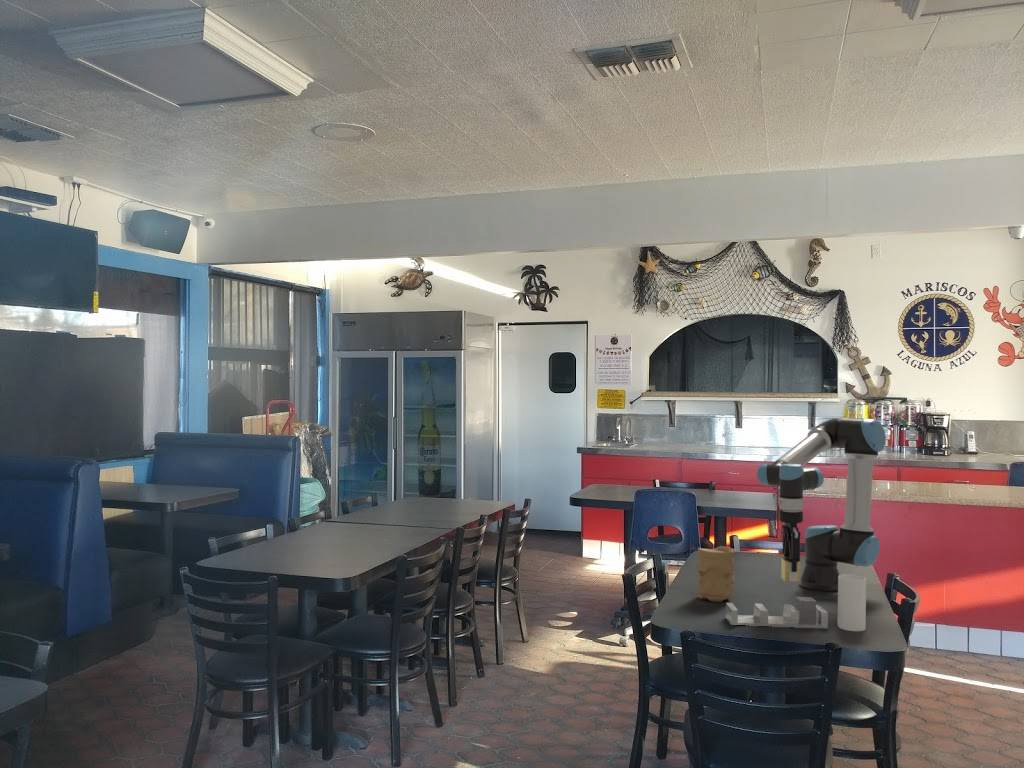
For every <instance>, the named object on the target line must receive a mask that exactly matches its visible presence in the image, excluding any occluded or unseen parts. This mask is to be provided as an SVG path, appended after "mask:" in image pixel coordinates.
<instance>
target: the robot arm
mask: <svg viewBox="0 0 1024 768" xmlns="http://www.w3.org/2000/svg"><path fill="white" fill-rule="evenodd" d="M886 437H887V436H886V431H885V429H884V427H883V425H882V423H881V422H880V421H879V420H877V419H873V418H872V419H871V418H860V417H859V418H856V417H854V418H853V417H835V418H831V419H828V420H826V421H824V422H822V423H820V424H818V425H816V426H814V427H813V428H812V429H811V430H809V431H808V432H807V436H806V437H805V438H804V439H802V440H801V441H800V442H798V443H797V444H796V445H795V446H793V447H792V448H790V450H788V451H786V453H784V454H783V455H782V456H780V457H779V458H778V459H776V460H775V461H774V462H773V463H770V464H769V463H762V464H760V465H759V466H758V468H757V471H756V477H757V480H758V482H759V484H761V485H764V486H769V487H778V488H779V500H778V501H777V502H778V504H779V509H780V510H779V513H778V514H779V517H778V518H779V521H780V522H782V523H784V524H783V525H782V526H781V529H782V551H781V552H782V554H783V558H790V560H788V562H789V581H798V561H801V550H800V549H801V541H800V539H801V532H800V530H799V528H798V524H801V523H803V522H804V511H802V510H804V496H803V495H804V491H809V490H816V489H818V488H820V487H821V486H822V485H823V483H824V481H825V478H824V473H823V471H822V470H821V469H820V468H818V467H815V466H812V467H811V466H808V467H805V465H807V464H808V463H809V462H810V461H812V460H813V459H814V458H816V457H817V456H819V454H820V453H826V452H828V451H829V450H830V449H842V450H843V451H844V452H843V454H844V455H845V456H846V457H847V459H848V461H847V476H846V491H845V492H846V495H845V510H844V511H845V512H844V513H845V514H844V523H842V525H840V526H839V527H838V526H837V525H834V524H833V525H831V524H830V525H829V524H828V525H825V524H823V525H813V526H812V525H811V526H809V527H807V528H806V529H805V535H804V567H803V570H802V572H801V574H800V582H799V585H800V586H801V587H803V588H805V589H808V590H814V591H824V592H825V591H826V592H834V591H838V576H839V575H840V571H839V569H838V563H840V564H845V565H846V564H847V565H851V566H855V567H863V568H865V567H866V568H867V567H871V566H872V565H873V564H874V563H875V562H876V560H877V559H878V557H879V553H880V550H881V549H880V548H881V542H880V539H879V538H878V537H877V536H876V535H875V534H874V532H875V529H874V528H872V525H871V510H872V509H871V508H872V491H873V490H872V487H873V475H874V474H873V473H874V471H873V470H874V469H873V468H874V460H875V459H876V458H878V457H879V452H882V451H883V450H884V449H885V446H886V441H887V438H886Z"/></svg>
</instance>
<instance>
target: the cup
mask: <svg viewBox="0 0 1024 768" xmlns="http://www.w3.org/2000/svg"><path fill="white" fill-rule="evenodd" d="M866 606H867V578H866V577H865V576H861V575H857V574H847V573H846V574H843V573H842V574H839V576H838V590H837V627H838V628H839V629H841V630H844V631H848V632H849V631H850V632H864V631H865V630H866V627H867V626H866V624H867V623H866V618H867V617H866V615H867V614H866V613H867V611H866V610H867V609H866Z"/></svg>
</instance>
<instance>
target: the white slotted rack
mask: <svg viewBox="0 0 1024 768" xmlns="http://www.w3.org/2000/svg"><path fill="white" fill-rule="evenodd" d="M782 606H783V608H782V609H783V610H782V616H774V615H771V616H770V615H769V610H768V609H767V608H766V607H765V605H763V603H758V602H757V603H753V615H750V614H749V615H745V614H743V615H741V614H739V610H738V608H737V607H736V605H735V604H734V603H733V602H725V619H726V620H727V622H728V621H729V622H728V623H729V625H730V624H731V625H746V626H745V627H757V626H769V627H768V628H790V627H794V628H796V629H797V628H799V629H825V630H826V629H829V628H828V626H829V625H828V623H829V620H828V619H829V612H828V611H827V610H825V608H823V607H822V606H821V605H819V604H817V600H816V599H814V597H810V596H809V597H808V596H796V597H795V607H794V605H792V604H785V603H784V604H783V605H782ZM731 625H730V626H731ZM748 625H749V626H748ZM770 626H772V627H770ZM794 628H793V629H794Z"/></svg>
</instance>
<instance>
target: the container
mask: <svg viewBox="0 0 1024 768" xmlns="http://www.w3.org/2000/svg"><path fill="white" fill-rule="evenodd" d="M697 550H698V551H697V554H698V556H697V570H698V571H697V597H698V599H700V600H709V601H710V602H714V603H717V602H718V603H722V602H723V601H725V600H727V599H729V598H731V597H732V595H733V594H734V589H735V574H734V573H735V572H734V571H735V558H734V557H735V548H731V547H729V546H724V545H723V546H722V545H721V546H718V547H715V548H713V549H710V548H701V547H698V548H697Z"/></svg>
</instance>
